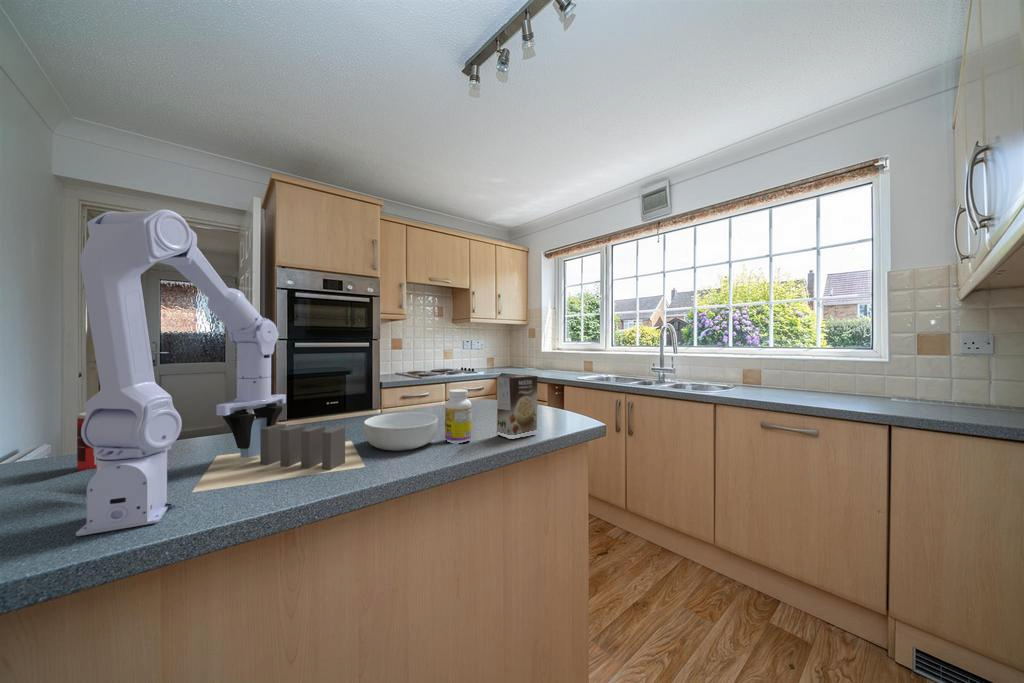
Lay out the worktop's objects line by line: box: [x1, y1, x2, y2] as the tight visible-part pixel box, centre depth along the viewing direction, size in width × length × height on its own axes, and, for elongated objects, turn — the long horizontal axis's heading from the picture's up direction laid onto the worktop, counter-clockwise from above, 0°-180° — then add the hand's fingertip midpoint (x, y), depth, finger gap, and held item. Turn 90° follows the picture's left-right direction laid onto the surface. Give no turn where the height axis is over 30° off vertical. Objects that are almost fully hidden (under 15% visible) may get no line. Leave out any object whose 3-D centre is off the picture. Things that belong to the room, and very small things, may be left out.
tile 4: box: [301, 425, 326, 468], centre depth 75 cm, size 2×4×7 cm, turn 169°
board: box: [191, 440, 366, 494], centre depth 77 cm, size 22×26×1 cm
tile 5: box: [322, 426, 346, 470], centre depth 74 cm, size 2×4×7 cm, turn 169°
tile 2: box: [260, 423, 287, 465], centre depth 76 cm, size 2×4×7 cm, turn 169°
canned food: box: [76, 411, 97, 473], centre depth 75 cm, size 8×8×11 cm
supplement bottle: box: [444, 388, 472, 441], centre depth 97 cm, size 7×7×13 cm
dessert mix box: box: [496, 374, 538, 435], centre depth 103 cm, size 9×6×16 cm
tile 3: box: [280, 424, 306, 467], centre depth 76 cm, size 2×4×7 cm, turn 169°
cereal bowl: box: [363, 411, 439, 452], centre depth 90 cm, size 17×17×7 cm
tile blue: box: [239, 417, 267, 458], centre depth 77 cm, size 2×4×7 cm, turn 169°
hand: (254, 444), depth 77 cm, fingers closed on tile blue, 4 cm apart
